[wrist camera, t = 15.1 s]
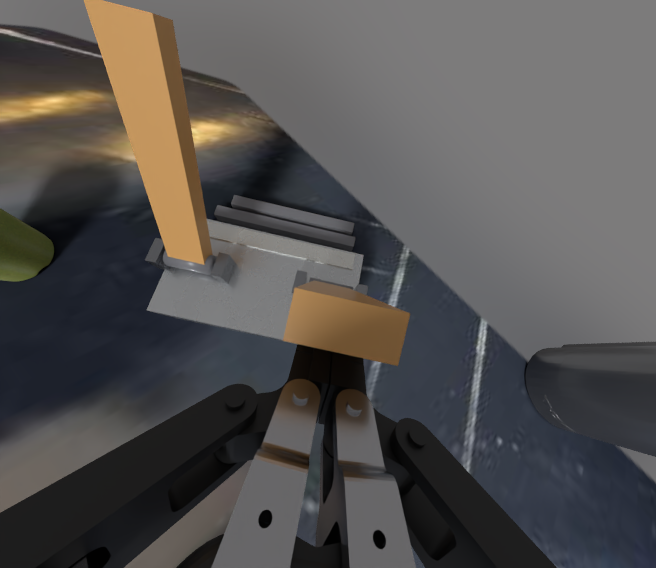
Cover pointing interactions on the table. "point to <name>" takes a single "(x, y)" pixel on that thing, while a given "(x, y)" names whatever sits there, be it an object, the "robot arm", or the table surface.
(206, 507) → the table surface
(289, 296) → the breaker box
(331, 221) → the stepped grey slab
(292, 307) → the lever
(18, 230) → the plant pot
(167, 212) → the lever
